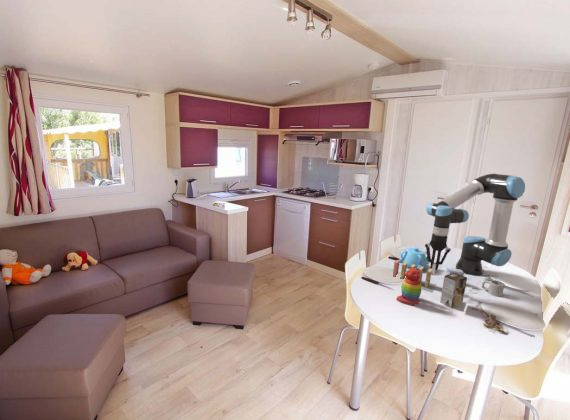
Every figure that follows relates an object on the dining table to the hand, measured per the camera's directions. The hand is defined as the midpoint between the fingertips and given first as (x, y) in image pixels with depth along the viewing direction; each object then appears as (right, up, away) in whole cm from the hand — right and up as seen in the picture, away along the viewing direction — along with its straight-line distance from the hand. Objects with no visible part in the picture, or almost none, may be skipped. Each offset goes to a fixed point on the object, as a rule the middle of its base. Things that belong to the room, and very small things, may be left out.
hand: (432, 274), depth 168 cm
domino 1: (-16, -4, +13) cm, 22 cm away
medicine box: (+17, -8, +10) cm, 21 cm away
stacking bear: (-18, -11, -12) cm, 25 cm away
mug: (+34, -11, +2) cm, 36 cm away
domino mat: (-9, -7, +8) cm, 14 cm away
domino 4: (-6, -7, +6) cm, 10 cm away
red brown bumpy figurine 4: (-13, -5, +11) cm, 17 cm away
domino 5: (-2, -7, +3) cm, 8 cm away
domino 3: (-9, -6, +8) cm, 14 cm away
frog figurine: (+12, -18, -30) cm, 37 cm away
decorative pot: (+2, -2, +32) cm, 32 cm away
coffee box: (+2, -13, -14) cm, 19 cm away
